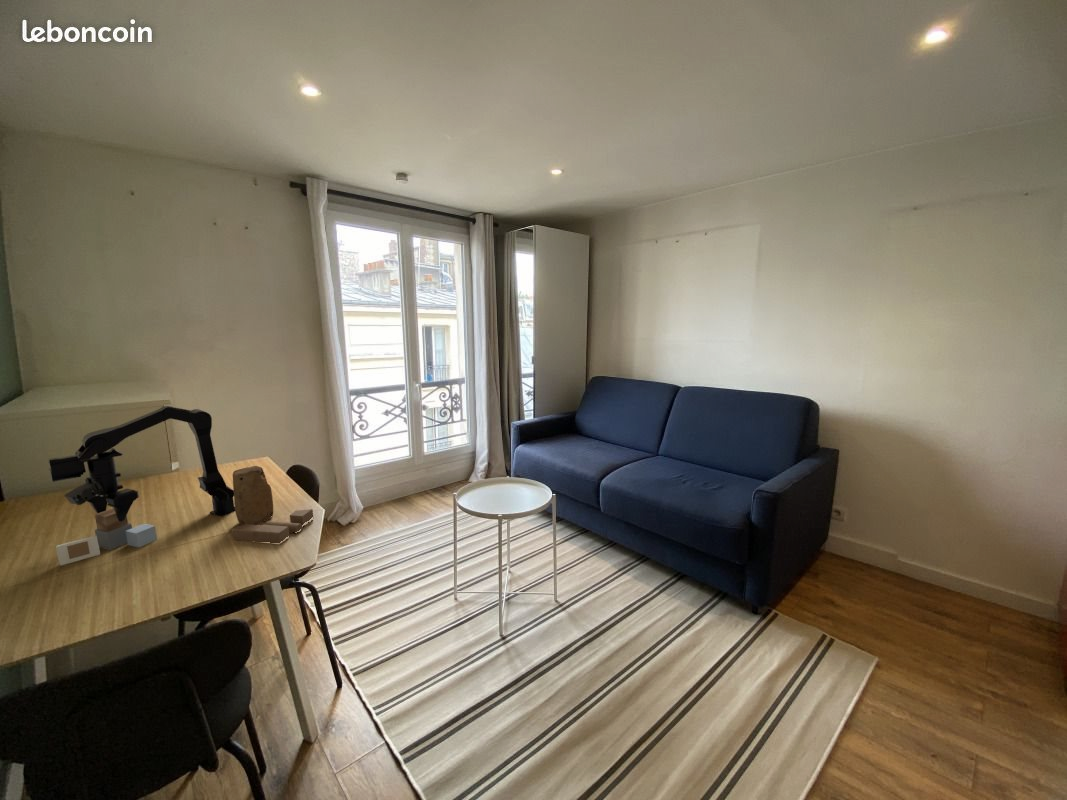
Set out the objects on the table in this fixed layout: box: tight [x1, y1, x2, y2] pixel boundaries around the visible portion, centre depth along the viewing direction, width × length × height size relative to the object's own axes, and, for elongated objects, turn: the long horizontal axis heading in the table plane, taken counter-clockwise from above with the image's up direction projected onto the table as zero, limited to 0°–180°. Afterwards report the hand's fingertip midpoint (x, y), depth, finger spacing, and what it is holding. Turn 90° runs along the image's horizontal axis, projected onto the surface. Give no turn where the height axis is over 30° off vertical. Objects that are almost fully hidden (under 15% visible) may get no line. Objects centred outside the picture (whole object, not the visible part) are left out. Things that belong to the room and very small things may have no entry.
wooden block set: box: [231, 508, 314, 543], centre depth 138 cm, size 17×6×18 cm
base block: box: [94, 522, 133, 551], centre depth 128 cm, size 6×6×6 cm
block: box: [232, 465, 274, 526], centre depth 143 cm, size 11×8×20 cm
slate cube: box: [125, 523, 158, 549], centre depth 129 cm, size 5×5×5 cm
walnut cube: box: [94, 507, 129, 532], centre depth 127 cm, size 5×5×5 cm
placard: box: [55, 535, 101, 566], centre depth 119 cm, size 1×8×6 cm, turn 139°
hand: (111, 518), depth 127 cm, fingers open, 9 cm apart
